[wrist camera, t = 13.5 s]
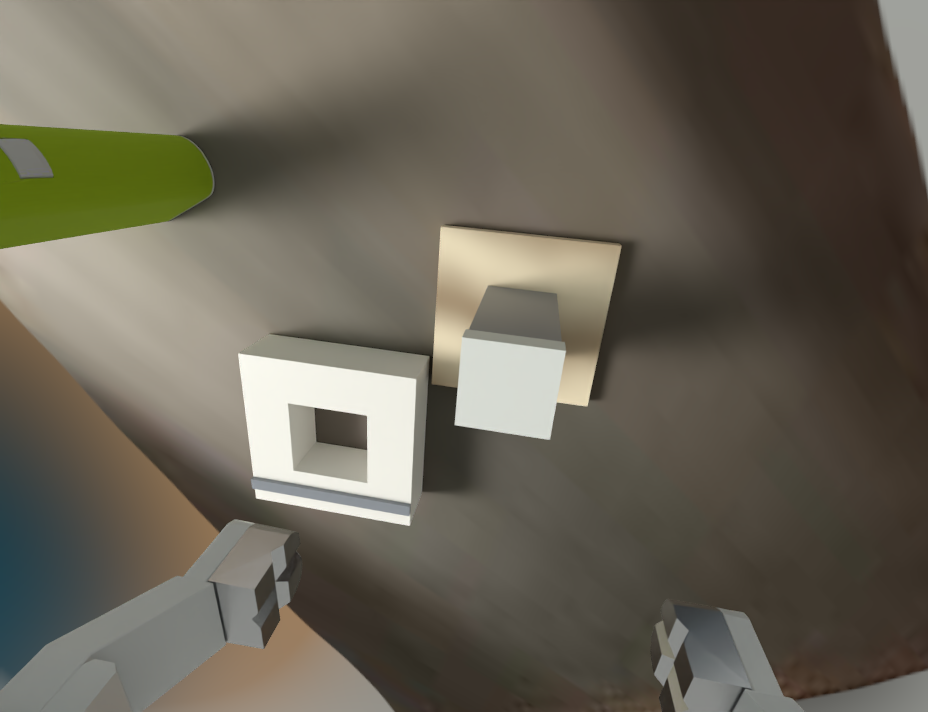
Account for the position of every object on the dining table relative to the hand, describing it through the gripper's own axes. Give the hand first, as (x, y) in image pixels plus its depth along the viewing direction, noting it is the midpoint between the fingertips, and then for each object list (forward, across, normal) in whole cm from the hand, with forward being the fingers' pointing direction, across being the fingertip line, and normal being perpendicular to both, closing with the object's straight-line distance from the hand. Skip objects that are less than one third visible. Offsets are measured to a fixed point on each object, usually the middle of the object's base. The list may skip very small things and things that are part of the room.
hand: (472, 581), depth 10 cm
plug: (+19, 0, +1) cm, 19 cm away
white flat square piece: (+20, +11, +10) cm, 24 cm away
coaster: (+20, 0, +1) cm, 20 cm away
